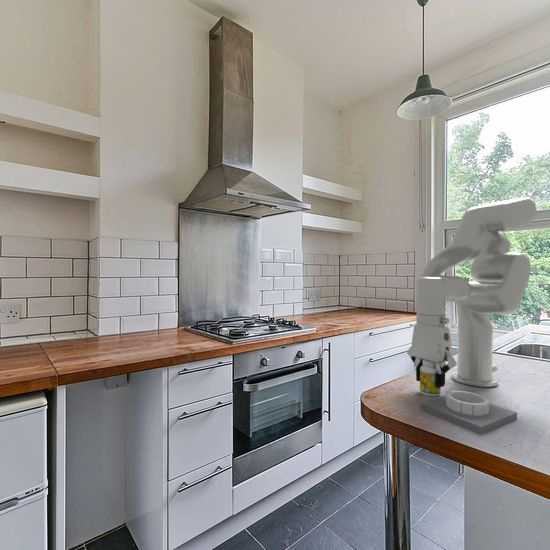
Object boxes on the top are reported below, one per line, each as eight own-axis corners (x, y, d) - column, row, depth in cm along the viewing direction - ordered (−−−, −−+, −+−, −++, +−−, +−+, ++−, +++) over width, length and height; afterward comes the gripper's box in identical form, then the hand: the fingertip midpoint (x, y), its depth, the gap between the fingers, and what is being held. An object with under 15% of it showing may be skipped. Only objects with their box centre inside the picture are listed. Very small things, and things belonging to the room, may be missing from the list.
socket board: (455, 397, 92) (456, 383, 92) (516, 418, 79) (517, 402, 79) (420, 408, 85) (420, 392, 85) (481, 434, 72) (481, 415, 72)
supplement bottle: (444, 396, 93) (445, 362, 93) (426, 397, 92) (426, 362, 92) (433, 389, 98) (433, 357, 98) (416, 390, 97) (416, 357, 97)
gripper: (468, 323, 89) (467, 390, 89) (413, 315, 104) (413, 373, 104) (451, 325, 85) (450, 396, 86) (397, 317, 100) (396, 377, 101)
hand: (430, 382), depth 95 cm, fingers closed on supplement bottle, 5 cm apart
